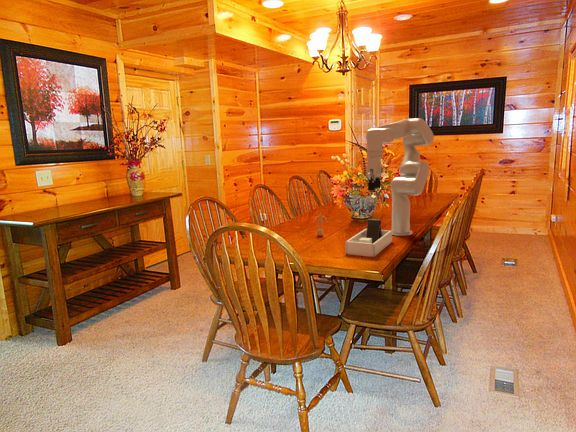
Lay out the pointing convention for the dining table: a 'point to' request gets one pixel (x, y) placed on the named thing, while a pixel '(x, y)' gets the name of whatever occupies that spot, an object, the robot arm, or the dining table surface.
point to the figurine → (320, 230)
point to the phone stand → (374, 229)
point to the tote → (368, 244)
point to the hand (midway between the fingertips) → (374, 189)
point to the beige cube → (365, 240)
